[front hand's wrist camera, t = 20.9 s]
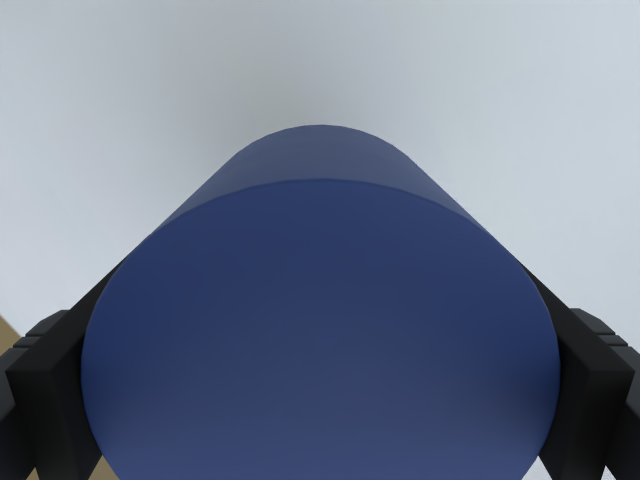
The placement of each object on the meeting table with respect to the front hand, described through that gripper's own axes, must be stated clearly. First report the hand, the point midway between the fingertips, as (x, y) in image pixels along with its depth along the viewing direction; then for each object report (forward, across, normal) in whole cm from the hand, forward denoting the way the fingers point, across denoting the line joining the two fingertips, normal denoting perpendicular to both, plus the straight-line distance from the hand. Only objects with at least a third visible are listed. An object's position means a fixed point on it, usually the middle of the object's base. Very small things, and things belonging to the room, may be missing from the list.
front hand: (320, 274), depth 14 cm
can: (+2, 0, 0) cm, 2 cm away
